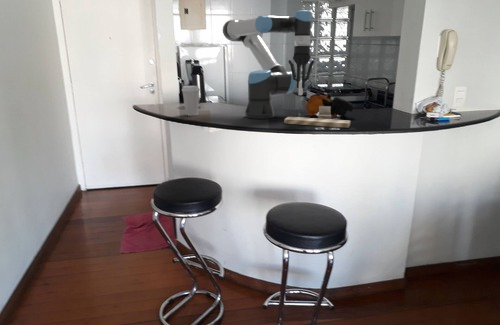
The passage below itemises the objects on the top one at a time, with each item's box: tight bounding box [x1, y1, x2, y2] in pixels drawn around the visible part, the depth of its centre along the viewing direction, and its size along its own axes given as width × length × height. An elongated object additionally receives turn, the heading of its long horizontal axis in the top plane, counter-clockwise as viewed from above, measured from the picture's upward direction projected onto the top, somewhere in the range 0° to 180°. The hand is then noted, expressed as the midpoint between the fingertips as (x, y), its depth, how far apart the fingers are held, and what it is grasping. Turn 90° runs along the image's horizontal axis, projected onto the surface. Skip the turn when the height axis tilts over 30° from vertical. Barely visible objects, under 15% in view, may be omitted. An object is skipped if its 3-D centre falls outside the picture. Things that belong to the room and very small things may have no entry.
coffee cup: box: [181, 85, 201, 117], centre depth 205 cm, size 10×10×15 cm
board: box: [283, 116, 351, 129], centre depth 182 cm, size 30×7×2 cm, turn 70°
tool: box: [305, 92, 355, 118], centre depth 201 cm, size 8×23×15 cm, turn 72°
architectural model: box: [315, 106, 332, 119], centre depth 188 cm, size 3×7×7 cm, turn 83°
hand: (300, 94), depth 191 cm, fingers closed
